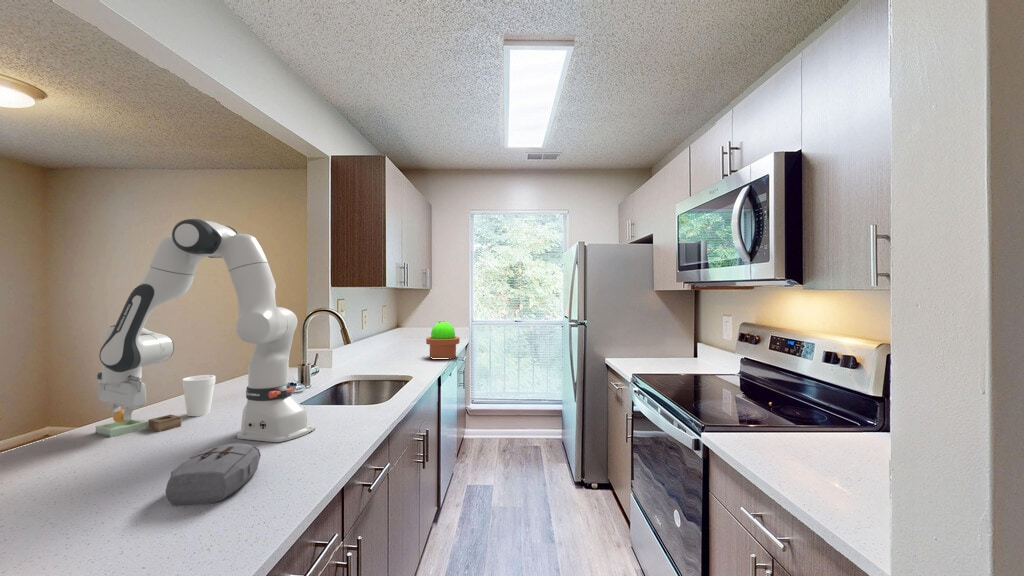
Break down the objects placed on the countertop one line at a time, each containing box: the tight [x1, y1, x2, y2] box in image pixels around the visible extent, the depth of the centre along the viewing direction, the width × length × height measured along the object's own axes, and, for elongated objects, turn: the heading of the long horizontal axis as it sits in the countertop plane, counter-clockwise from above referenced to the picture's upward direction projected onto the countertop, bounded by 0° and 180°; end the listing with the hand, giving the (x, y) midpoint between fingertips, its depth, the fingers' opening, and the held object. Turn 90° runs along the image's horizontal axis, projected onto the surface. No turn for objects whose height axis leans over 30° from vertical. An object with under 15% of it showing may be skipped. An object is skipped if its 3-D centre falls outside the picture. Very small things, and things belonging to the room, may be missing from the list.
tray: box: [95, 417, 148, 438], centre depth 126 cm, size 9×9×2 cm
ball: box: [112, 409, 127, 423], centre depth 125 cm, size 4×4×4 cm
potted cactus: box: [425, 321, 460, 360], centre depth 267 cm, size 22×22×25 cm
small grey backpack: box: [164, 442, 261, 507], centre depth 92 cm, size 15×8×20 cm
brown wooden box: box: [147, 414, 182, 433], centre depth 128 cm, size 6×6×3 cm
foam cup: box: [181, 374, 216, 417], centre depth 143 cm, size 10×9×13 cm
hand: (122, 418), depth 125 cm, fingers closed on ball, 4 cm apart
